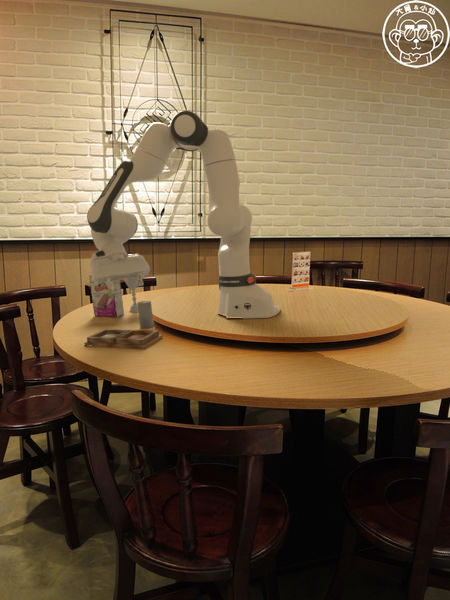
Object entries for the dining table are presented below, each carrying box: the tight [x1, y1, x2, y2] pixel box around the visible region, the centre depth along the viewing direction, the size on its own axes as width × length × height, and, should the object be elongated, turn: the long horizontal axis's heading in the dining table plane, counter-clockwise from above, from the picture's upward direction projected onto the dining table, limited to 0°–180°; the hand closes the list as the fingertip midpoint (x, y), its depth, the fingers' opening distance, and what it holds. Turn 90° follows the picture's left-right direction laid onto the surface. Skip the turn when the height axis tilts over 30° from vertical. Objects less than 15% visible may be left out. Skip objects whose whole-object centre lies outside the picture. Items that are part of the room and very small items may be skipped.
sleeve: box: [136, 300, 156, 331], centre depth 151 cm, size 5×5×10 cm
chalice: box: [123, 277, 140, 313], centre depth 182 cm, size 7×7×18 cm
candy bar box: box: [88, 274, 125, 318], centre depth 177 cm, size 11×5×16 cm, turn 65°
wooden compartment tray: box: [84, 328, 163, 350], centre depth 142 cm, size 21×11×2 cm, turn 69°
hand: (128, 287), depth 157 cm, fingers open, 8 cm apart
